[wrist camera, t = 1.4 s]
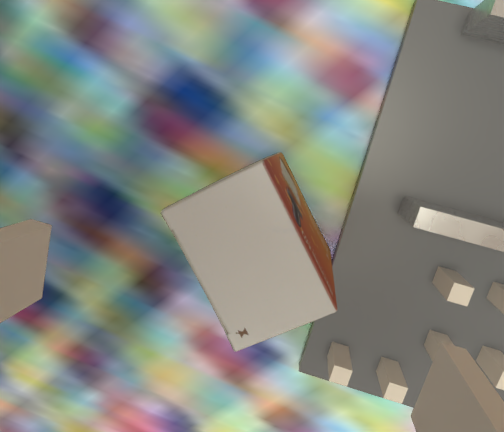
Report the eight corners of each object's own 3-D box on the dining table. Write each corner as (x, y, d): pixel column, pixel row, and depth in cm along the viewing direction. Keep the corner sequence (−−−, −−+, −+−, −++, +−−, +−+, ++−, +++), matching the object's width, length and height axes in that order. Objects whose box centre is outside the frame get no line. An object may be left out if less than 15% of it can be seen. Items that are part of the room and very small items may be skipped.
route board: (299, 363, 30) (297, 397, 26) (414, 1, 24) (433, -24, 20) (497, 426, 29) (526, 471, 25) (672, 59, 23) (745, 43, 19)
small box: (331, 250, 28) (342, 316, 18) (261, 280, 29) (234, 358, 19) (282, 148, 27) (264, 157, 17) (212, 184, 28) (156, 211, 18)
